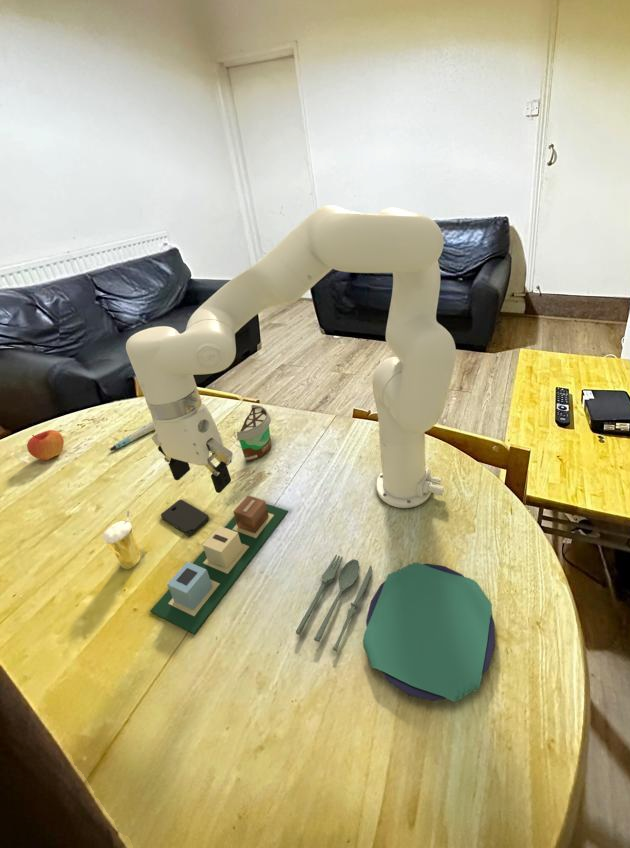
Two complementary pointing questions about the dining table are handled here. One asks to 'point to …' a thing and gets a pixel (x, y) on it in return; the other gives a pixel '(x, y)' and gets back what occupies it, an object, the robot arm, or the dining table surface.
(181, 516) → the black smartphone
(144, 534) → the dining table surface
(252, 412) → the food container
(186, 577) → the light blue block
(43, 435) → the apple
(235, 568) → the word mat
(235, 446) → the dining table surface
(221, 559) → the letter block
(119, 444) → the pen
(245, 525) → the letter block
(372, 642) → the cutlery set
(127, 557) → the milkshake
